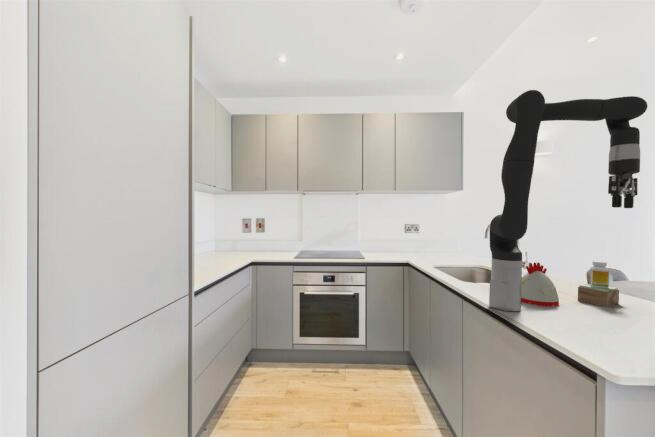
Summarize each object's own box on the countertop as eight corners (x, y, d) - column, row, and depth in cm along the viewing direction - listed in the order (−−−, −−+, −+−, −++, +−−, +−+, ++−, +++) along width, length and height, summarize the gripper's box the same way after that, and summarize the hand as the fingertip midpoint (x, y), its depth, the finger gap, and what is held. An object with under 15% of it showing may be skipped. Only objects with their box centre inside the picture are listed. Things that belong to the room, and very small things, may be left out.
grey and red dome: (506, 296, 121) (507, 259, 121) (537, 296, 122) (538, 260, 122) (534, 306, 107) (534, 265, 107) (568, 306, 109) (569, 265, 108)
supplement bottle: (612, 288, 111) (613, 263, 111) (596, 288, 112) (596, 262, 112) (601, 285, 117) (602, 260, 117) (586, 284, 117) (586, 260, 117)
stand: (607, 306, 109) (607, 290, 109) (577, 300, 117) (578, 285, 117) (618, 304, 112) (619, 288, 112) (589, 298, 121) (589, 283, 121)
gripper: (619, 163, 106) (618, 208, 106) (599, 159, 100) (598, 207, 100) (648, 160, 99) (647, 208, 100) (629, 155, 93) (627, 206, 93)
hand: (622, 207), depth 100 cm, fingers open, 8 cm apart
